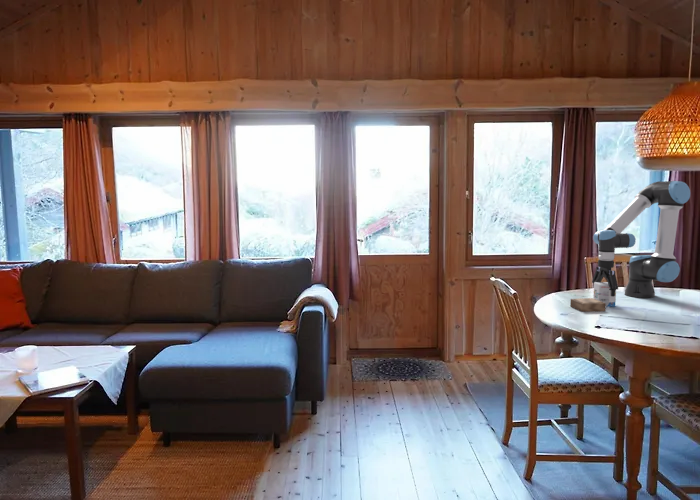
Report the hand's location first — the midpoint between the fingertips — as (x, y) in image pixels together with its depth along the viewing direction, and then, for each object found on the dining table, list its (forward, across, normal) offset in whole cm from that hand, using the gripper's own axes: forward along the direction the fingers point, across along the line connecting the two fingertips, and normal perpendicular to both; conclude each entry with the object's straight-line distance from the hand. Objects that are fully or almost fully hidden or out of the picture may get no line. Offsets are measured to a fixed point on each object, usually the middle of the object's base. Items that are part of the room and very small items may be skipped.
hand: (603, 299), depth 273 cm
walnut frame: (+3, +7, -13) cm, 15 cm away
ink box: (+3, 0, 0) cm, 3 cm away
